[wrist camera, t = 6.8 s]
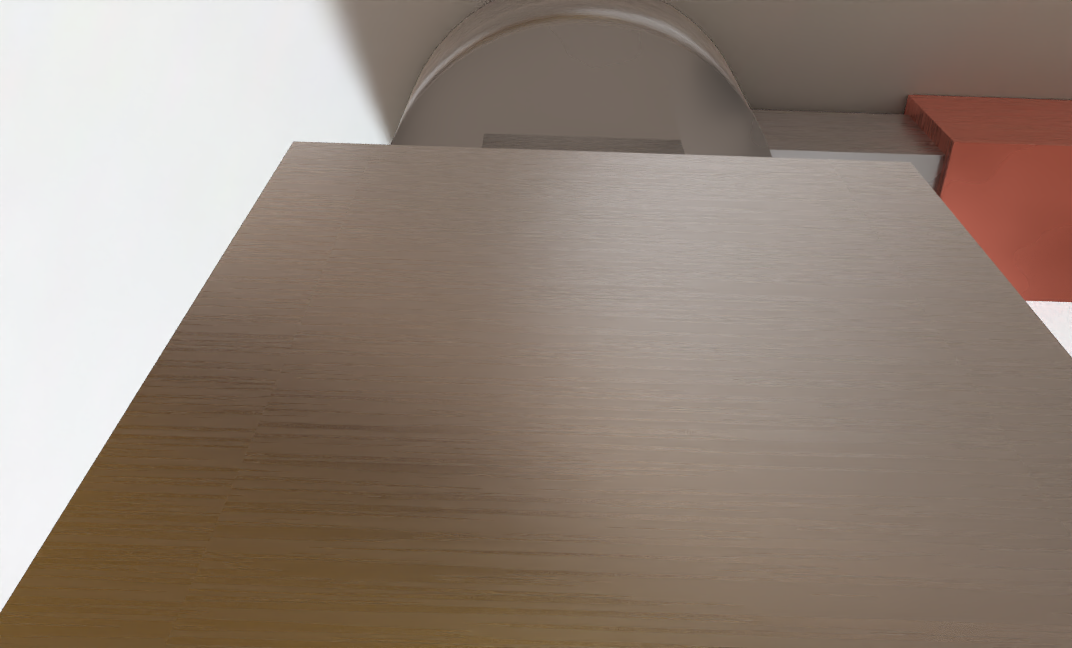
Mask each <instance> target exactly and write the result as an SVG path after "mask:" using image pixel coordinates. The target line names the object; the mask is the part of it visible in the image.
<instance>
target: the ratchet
mask: <svg viewBox="0 0 1072 648" xmlns="http://www.w3.org/2000/svg"><path fill="white" fill-rule="evenodd" d="M391 145H412V146H442V147H473V148H503V149H533V150H563V151H593V152H624V153H654V154H684V155H714V156H744V157H774V158H805V159H835V160H865V161H895V162H911V163H912V164H913V166H914V167H915V168H916V169H917V171H918V172H919V173H920V174H921V175H922V177H923V178H924V179H925V180H926V181H927V183H928V184H929V185H930V186H931V187H932V189H933V190H934V191H935V192H936V194H937V195H938V196H939V197H940V198H941V200H942V201H943V202H944V203H945V204H946V206H947V207H948V208H949V209H950V210H951V212H952V213H953V214H954V215H955V217H956V218H957V219H958V220H959V221H960V223H961V224H962V225H963V226H964V227H965V229H966V230H967V231H968V232H969V233H970V235H971V236H972V237H973V238H974V240H975V241H976V242H977V243H978V244H979V246H980V247H981V248H982V249H983V250H984V252H985V253H986V254H987V255H988V257H989V258H990V259H991V260H992V261H993V263H994V264H995V265H996V266H997V267H998V269H999V270H1000V271H1001V272H1002V273H1003V275H1004V276H1005V277H1006V278H1007V280H1008V281H1009V282H1010V283H1011V284H1012V286H1013V287H1014V288H1015V289H1016V290H1017V292H1018V293H1019V294H1020V295H1021V296H1022V298H1023V299H1024V300H1025V301H1054V302H1072V100H1051V99H1022V98H992V97H962V96H932V95H908V99H907V103H906V108H905V112H904V114H875V113H845V112H815V111H785V110H755V109H751V108H750V106H749V105H748V103H747V101H746V99H745V97H744V95H743V93H742V91H741V89H740V87H739V85H738V83H737V81H736V79H735V77H734V75H733V73H732V72H731V70H730V68H729V66H728V64H727V62H726V60H725V59H724V57H723V56H722V54H721V53H720V52H719V50H718V49H717V47H716V46H715V45H714V43H713V42H712V41H711V39H710V38H709V37H708V36H707V35H706V34H705V33H704V32H703V31H702V30H701V29H700V28H699V27H698V26H697V25H696V24H695V23H694V22H693V21H691V20H690V19H689V18H687V17H686V16H685V15H683V14H682V13H681V12H680V11H678V10H677V9H676V8H674V7H672V6H670V5H669V4H667V3H665V2H663V1H662V0H493V1H491V2H489V3H487V4H486V5H484V6H483V7H481V8H480V9H478V10H477V11H475V12H473V13H472V14H470V15H469V16H468V17H467V18H465V19H464V20H463V21H462V22H461V23H460V24H458V25H457V26H456V27H455V28H454V29H453V30H452V31H451V32H450V33H449V34H448V35H447V36H446V37H445V38H444V40H443V41H442V42H441V43H440V44H439V45H438V46H437V48H436V49H435V50H434V52H433V53H432V55H431V56H430V58H429V59H428V61H427V62H426V64H425V65H424V67H423V69H422V71H421V73H420V75H419V77H418V79H417V81H416V84H415V86H414V88H413V90H412V93H411V95H410V98H409V100H408V103H407V105H406V108H405V110H404V113H403V115H402V118H401V120H400V123H399V125H398V128H397V130H396V133H395V135H394V138H393V140H392V143H391Z"/></svg>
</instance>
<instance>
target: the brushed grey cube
mask: <svg viewBox="0 0 1072 648" xmlns="http://www.w3.org/2000/svg"><path fill="white" fill-rule="evenodd" d="M0 648H1072V357H1071V356H1070V355H1069V353H1068V352H1067V351H1066V350H1065V349H1064V347H1063V346H1062V345H1061V344H1060V343H1059V341H1058V340H1057V339H1056V338H1055V336H1054V335H1053V334H1052V333H1051V332H1050V330H1049V329H1048V328H1047V327H1046V326H1045V324H1044V323H1043V322H1042V321H1041V319H1040V318H1039V317H1038V316H1037V315H1036V313H1035V312H1034V311H1033V310H1032V309H1031V307H1030V306H1029V305H1028V304H1027V303H1026V301H1025V300H1024V299H1023V298H1022V296H1021V295H1020V294H1019V293H1018V292H1017V290H1016V289H1015V288H1014V287H1013V286H1012V284H1011V283H1010V282H1009V281H1008V280H1007V278H1006V277H1005V276H1004V275H1003V273H1002V272H1001V271H1000V270H999V269H998V267H997V266H996V265H995V264H994V263H993V261H992V260H991V259H990V258H989V257H988V255H987V254H986V253H985V252H984V250H983V249H982V248H981V247H980V246H979V244H978V243H977V242H976V241H975V240H974V238H973V237H972V236H971V235H970V233H969V232H968V231H967V230H966V229H965V227H964V226H963V225H962V224H961V223H960V221H959V220H958V219H957V218H956V217H955V215H954V214H953V213H952V212H951V210H950V209H949V208H948V207H947V206H946V204H945V203H944V202H943V201H942V200H941V198H940V197H939V196H938V195H937V194H936V192H935V191H934V190H933V189H932V187H931V186H930V185H929V184H928V183H927V181H926V180H925V179H924V178H923V177H922V175H921V174H920V173H919V172H918V171H917V169H916V168H915V167H914V166H913V164H912V163H911V162H895V161H865V160H835V159H805V158H774V157H744V156H714V155H684V154H654V153H624V152H593V151H563V150H533V149H503V148H473V147H442V146H412V145H382V144H352V143H322V142H293V143H292V145H291V146H290V148H289V149H288V151H287V153H286V154H285V156H284V157H283V159H282V161H281V162H280V164H279V166H278V167H277V169H276V170H275V172H274V174H273V175H272V177H271V178H270V180H269V182H268V183H267V185H266V186H265V188H264V190H263V191H262V193H261V194H260V196H259V198H258V199H257V201H256V203H255V204H254V206H253V207H252V209H251V211H250V212H249V214H248V215H247V217H246V219H245V220H244V222H243V223H242V225H241V227H240V228H239V230H238V231H237V233H236V235H235V236H234V238H233V239H232V241H231V243H230V244H229V246H228V248H227V249H226V251H225V252H224V254H223V256H222V257H221V259H220V260H219V262H218V264H217V265H216V267H215V268H214V270H213V272H212V273H211V275H210V276H209V278H208V280H207V281H206V283H205V284H204V286H203V288H202V289H201V291H200V293H199V294H198V296H197V297H196V299H195V301H194V302H193V304H192V305H191V307H190V309H189V310H188V312H187V313H186V315H185V317H184V318H183V320H182V321H181V323H180V325H179V326H178V328H177V330H176V331H175V333H174V334H173V336H172V338H171V339H170V341H169V342H168V344H167V346H166V347H165V349H164V350H163V352H162V354H161V355H160V357H159V358H158V360H157V362H156V363H155V365H154V366H153V368H152V370H151V371H150V373H149V375H148V376H147V378H146V379H145V381H144V383H143V384H142V386H141V387H140V389H139V391H138V392H137V394H136V395H135V397H134V399H133V400H132V402H131V403H130V405H129V407H128V408H127V410H126V412H125V413H124V415H123V416H122V418H121V420H120V421H119V423H118V424H117V426H116V428H115V429H114V431H113V432H112V434H111V436H110V437H109V439H108V440H107V442H106V444H105V445H104V447H103V448H102V450H101V452H100V453H99V455H98V457H97V458H96V460H95V461H94V463H93V465H92V466H91V468H90V469H89V471H88V473H87V474H86V476H85V477H84V479H83V481H82V482H81V484H80V485H79V487H78V489H77V490H76V492H75V493H74V495H73V497H72V498H71V500H70V502H69V503H68V505H67V506H66V508H65V510H64V511H63V513H62V514H61V516H60V518H59V519H58V521H57V522H56V524H55V526H54V527H53V529H52V530H51V532H50V534H49V535H48V537H47V539H46V540H45V542H44V543H43V545H42V547H41V548H40V550H39V551H38V553H37V555H36V556H35V558H34V559H33V561H32V563H31V564H30V566H29V567H28V569H27V571H26V572H25V574H24V575H23V577H22V579H21V580H20V582H19V584H18V585H17V587H16V588H15V590H14V592H13V593H12V595H11V596H10V598H9V600H8V601H7V603H6V604H5V606H4V608H3V609H2V611H1V612H0Z"/></svg>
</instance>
